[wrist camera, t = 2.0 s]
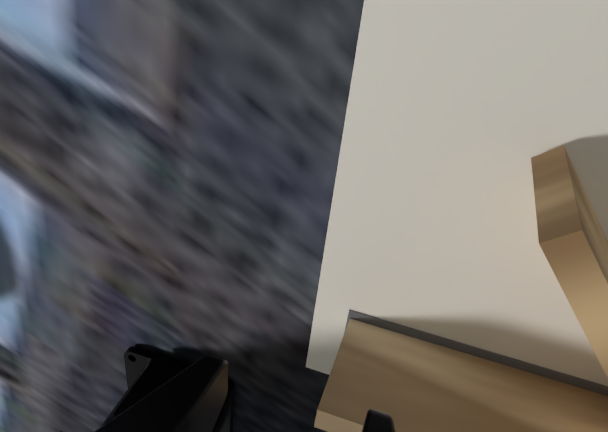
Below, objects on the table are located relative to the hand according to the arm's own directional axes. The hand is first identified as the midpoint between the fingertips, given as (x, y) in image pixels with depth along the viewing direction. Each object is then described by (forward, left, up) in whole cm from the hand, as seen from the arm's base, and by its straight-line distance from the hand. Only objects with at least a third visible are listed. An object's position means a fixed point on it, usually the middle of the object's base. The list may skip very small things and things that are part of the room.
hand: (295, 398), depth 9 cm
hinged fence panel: (-4, -8, -11) cm, 14 cm away
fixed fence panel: (-9, -7, -11) cm, 16 cm away
